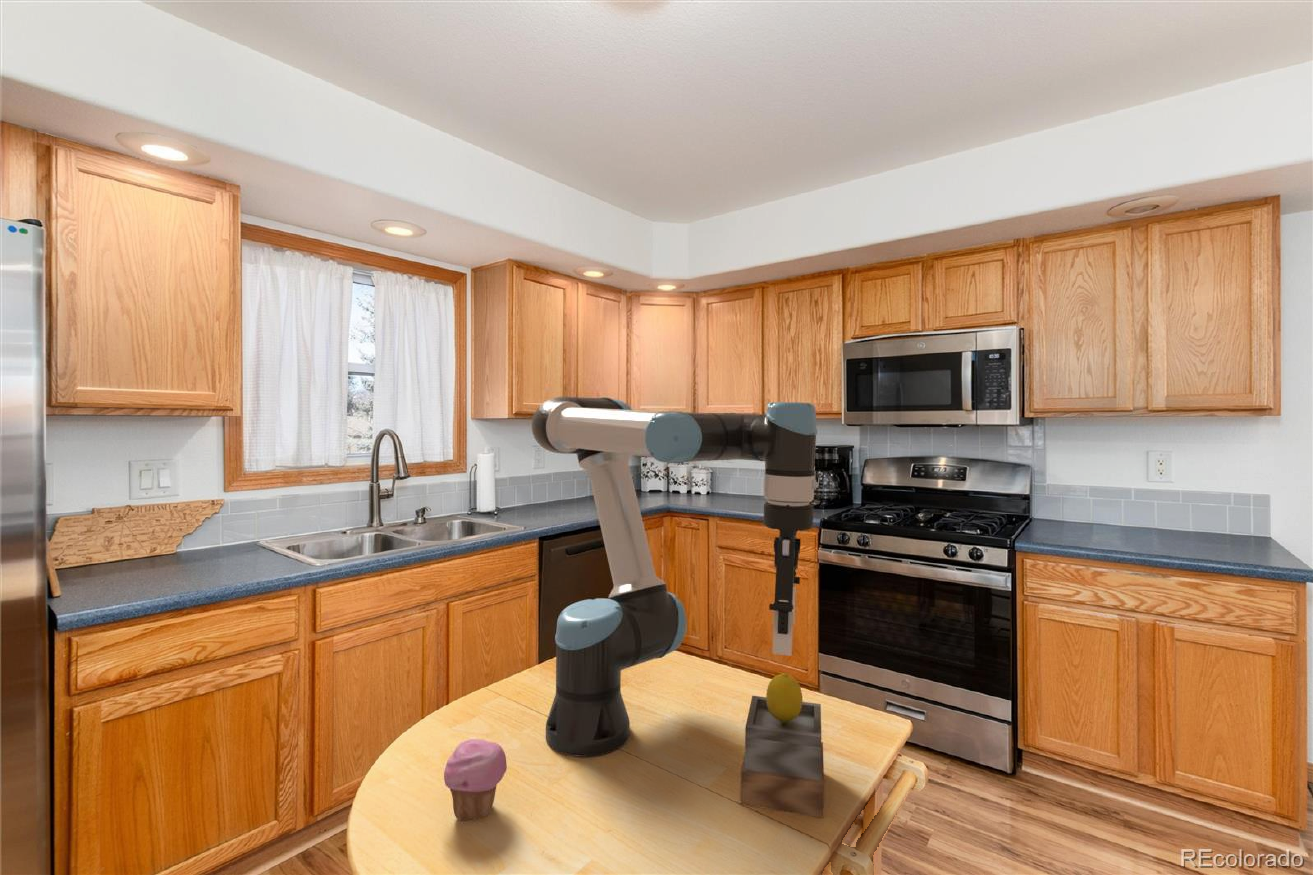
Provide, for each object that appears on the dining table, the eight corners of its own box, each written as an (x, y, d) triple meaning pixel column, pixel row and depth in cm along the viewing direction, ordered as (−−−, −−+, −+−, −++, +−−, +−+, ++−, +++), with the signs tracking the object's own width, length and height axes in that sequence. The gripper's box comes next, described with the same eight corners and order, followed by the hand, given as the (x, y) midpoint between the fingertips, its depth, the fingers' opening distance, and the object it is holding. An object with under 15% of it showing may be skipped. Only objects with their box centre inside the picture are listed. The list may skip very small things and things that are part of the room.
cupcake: (452, 794, 94) (453, 729, 94) (510, 792, 95) (511, 727, 95) (436, 833, 85) (436, 761, 85) (500, 830, 86) (500, 759, 86)
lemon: (794, 736, 93) (795, 683, 93) (760, 726, 96) (761, 675, 96) (806, 721, 98) (807, 671, 98) (773, 712, 101) (774, 663, 101)
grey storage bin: (740, 804, 93) (741, 728, 93) (748, 761, 104) (749, 694, 104) (823, 817, 90) (825, 739, 90) (822, 772, 102) (823, 702, 101)
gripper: (813, 516, 83) (808, 672, 84) (813, 493, 107) (809, 615, 108) (757, 512, 85) (752, 665, 86) (769, 491, 109) (765, 611, 110)
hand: (784, 638), depth 97 cm, fingers open, 13 cm apart
